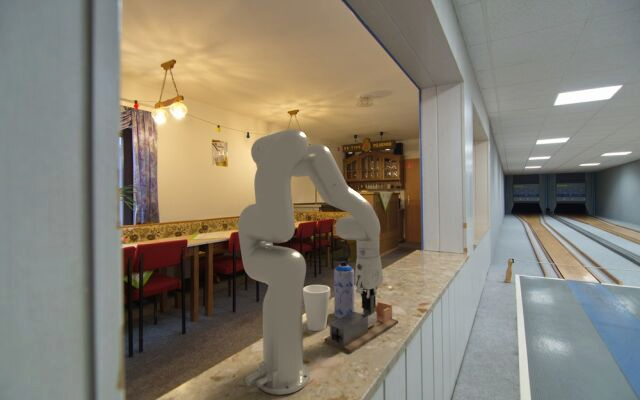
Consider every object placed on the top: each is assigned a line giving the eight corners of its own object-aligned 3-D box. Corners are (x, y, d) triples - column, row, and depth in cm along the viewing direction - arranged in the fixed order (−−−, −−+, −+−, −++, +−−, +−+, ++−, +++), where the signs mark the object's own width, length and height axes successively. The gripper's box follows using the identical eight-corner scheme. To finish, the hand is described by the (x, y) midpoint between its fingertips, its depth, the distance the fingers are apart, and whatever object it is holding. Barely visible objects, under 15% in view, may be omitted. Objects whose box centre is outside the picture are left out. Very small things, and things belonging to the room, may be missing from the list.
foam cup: (299, 323, 100) (299, 286, 100) (323, 319, 104) (323, 283, 104) (309, 335, 92) (308, 294, 92) (335, 329, 95) (334, 290, 95)
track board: (350, 353, 80) (350, 349, 80) (324, 341, 87) (324, 338, 87) (398, 323, 100) (398, 320, 100) (373, 315, 107) (373, 313, 107)
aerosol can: (358, 313, 109) (358, 261, 109) (347, 320, 103) (346, 264, 103) (341, 309, 114) (341, 258, 114) (329, 315, 108) (329, 262, 108)
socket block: (384, 323, 98) (384, 308, 98) (371, 318, 102) (371, 304, 102) (392, 318, 101) (391, 304, 101) (378, 314, 105) (378, 301, 105)
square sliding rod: (347, 339, 85) (347, 306, 85) (338, 335, 87) (337, 304, 87) (376, 322, 96) (376, 294, 96) (367, 319, 98) (367, 291, 99)
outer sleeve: (344, 347, 82) (343, 328, 82) (330, 340, 86) (329, 322, 86) (368, 332, 91) (367, 315, 91) (354, 327, 94) (354, 311, 94)
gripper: (363, 257, 88) (364, 318, 87) (390, 250, 99) (390, 304, 99) (344, 254, 93) (345, 311, 93) (371, 248, 104) (372, 299, 104)
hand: (368, 307), depth 96 cm, fingers closed on square sliding rod, 2 cm apart
